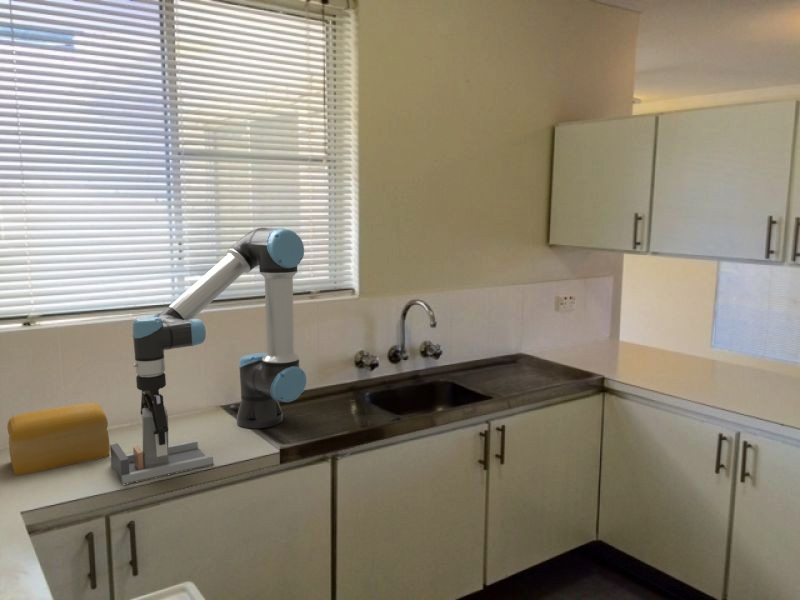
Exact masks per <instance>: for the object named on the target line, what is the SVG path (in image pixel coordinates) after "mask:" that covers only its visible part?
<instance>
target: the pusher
mask: <svg viewBox="0 0 800 600" xmlns="http://www.w3.org/2000/svg"><path fill="white" fill-rule="evenodd" d="M132 450H133V451H132V453H133V454H134V464H135V466H136V467H137V468H138V470H139V471H140V470H144V465H143V452H142V451H143V450H141V449H140V447H139V445H135V446H133V447H132Z"/></svg>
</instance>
